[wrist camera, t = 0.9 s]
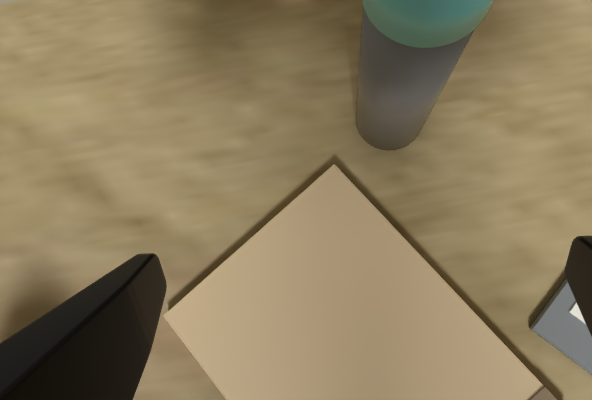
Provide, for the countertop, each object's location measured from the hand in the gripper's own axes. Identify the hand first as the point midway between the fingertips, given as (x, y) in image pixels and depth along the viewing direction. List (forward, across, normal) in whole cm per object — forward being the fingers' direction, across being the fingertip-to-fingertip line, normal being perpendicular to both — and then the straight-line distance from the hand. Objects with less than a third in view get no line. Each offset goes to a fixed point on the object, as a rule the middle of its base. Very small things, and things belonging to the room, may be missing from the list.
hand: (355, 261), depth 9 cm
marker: (+15, -3, +2) cm, 15 cm away
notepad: (+7, 0, +12) cm, 14 cm away
